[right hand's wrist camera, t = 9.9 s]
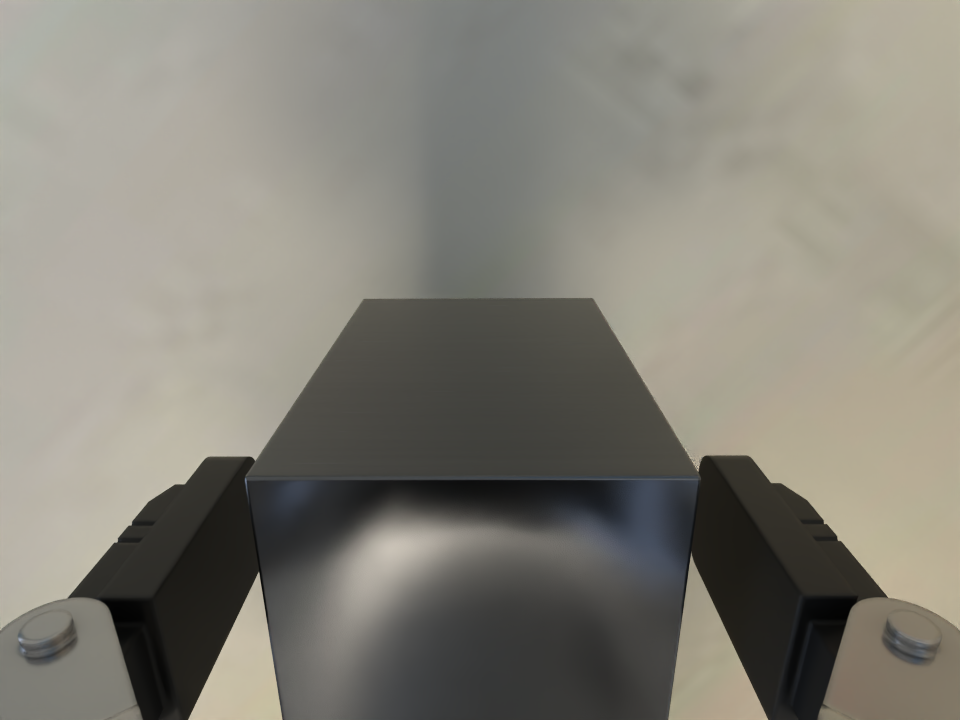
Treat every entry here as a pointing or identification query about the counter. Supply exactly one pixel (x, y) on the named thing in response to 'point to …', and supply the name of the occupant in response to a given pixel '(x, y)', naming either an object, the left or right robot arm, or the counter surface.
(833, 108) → the counter surface
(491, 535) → the box
